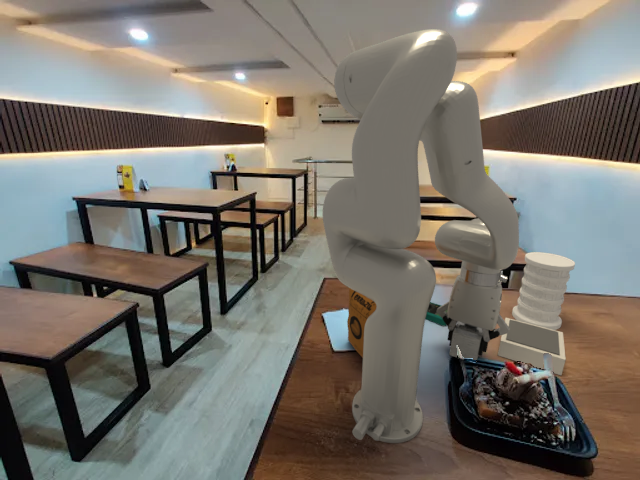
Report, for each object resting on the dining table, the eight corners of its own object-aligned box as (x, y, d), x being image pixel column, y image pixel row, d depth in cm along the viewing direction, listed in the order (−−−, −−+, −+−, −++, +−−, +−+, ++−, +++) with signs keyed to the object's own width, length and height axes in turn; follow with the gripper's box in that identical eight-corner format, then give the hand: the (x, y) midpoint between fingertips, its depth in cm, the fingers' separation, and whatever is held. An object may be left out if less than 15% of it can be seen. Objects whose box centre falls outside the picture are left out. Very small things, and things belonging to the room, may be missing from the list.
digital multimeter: (406, 301, 100) (407, 292, 99) (454, 317, 90) (456, 308, 89) (395, 310, 94) (396, 301, 93) (445, 328, 85) (446, 318, 84)
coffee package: (363, 372, 68) (368, 279, 62) (342, 340, 79) (344, 258, 73) (404, 363, 71) (412, 273, 64) (378, 333, 82) (383, 253, 76)
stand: (561, 375, 67) (565, 358, 66) (497, 355, 74) (500, 339, 72) (559, 346, 77) (563, 331, 75) (502, 330, 83) (505, 316, 82)
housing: (475, 364, 69) (481, 336, 67) (449, 354, 72) (453, 327, 70) (481, 346, 75) (486, 320, 73) (456, 338, 78) (461, 313, 76)
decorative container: (571, 326, 85) (588, 264, 80) (538, 333, 82) (553, 269, 77) (533, 306, 96) (545, 249, 90) (502, 311, 93) (513, 253, 87)
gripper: (526, 280, 67) (509, 353, 72) (442, 262, 76) (432, 329, 81) (524, 292, 61) (506, 371, 66) (434, 271, 70) (424, 342, 75)
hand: (466, 347), depth 73 cm, fingers closed on housing, 5 cm apart
